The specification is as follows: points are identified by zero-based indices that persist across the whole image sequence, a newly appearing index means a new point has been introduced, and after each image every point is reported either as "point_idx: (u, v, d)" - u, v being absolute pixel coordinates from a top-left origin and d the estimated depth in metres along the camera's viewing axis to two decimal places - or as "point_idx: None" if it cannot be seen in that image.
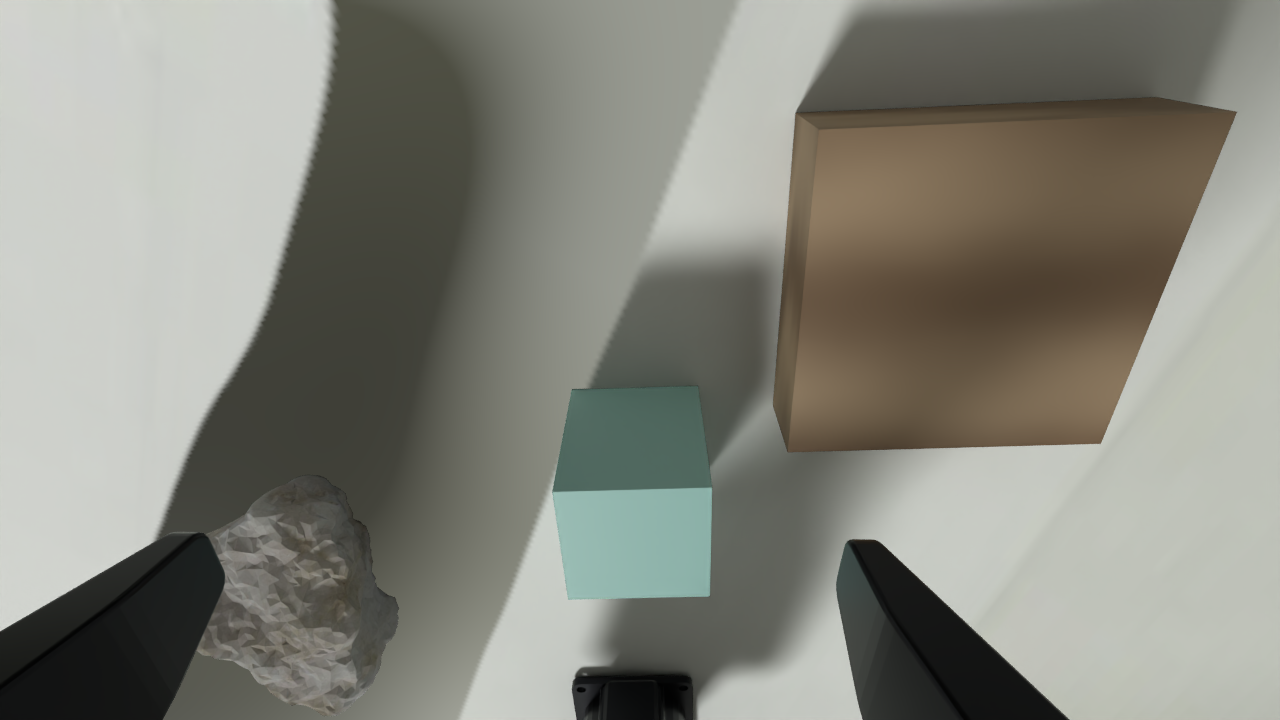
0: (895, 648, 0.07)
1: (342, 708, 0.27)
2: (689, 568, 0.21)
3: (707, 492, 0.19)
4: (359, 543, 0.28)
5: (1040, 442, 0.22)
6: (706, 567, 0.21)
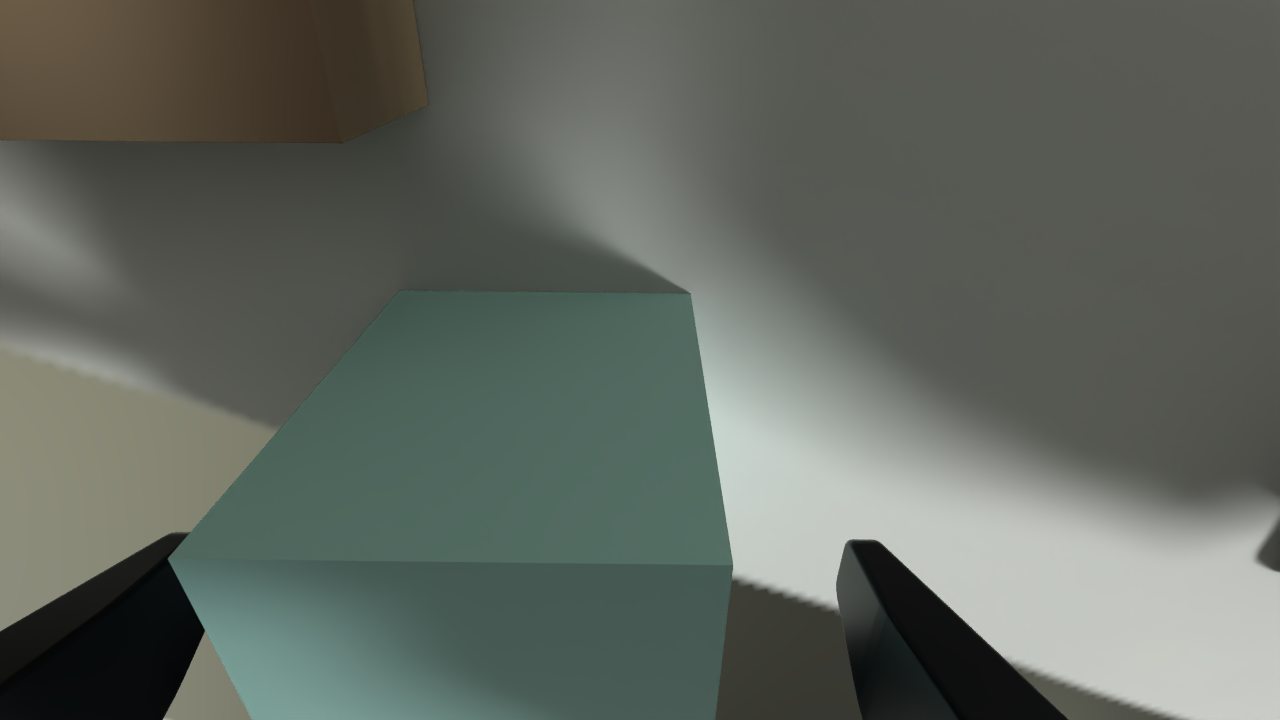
0: (895, 648, 0.07)
1: None
2: (575, 617, 0.06)
3: (196, 569, 0.06)
4: None
5: None
6: (566, 575, 0.06)
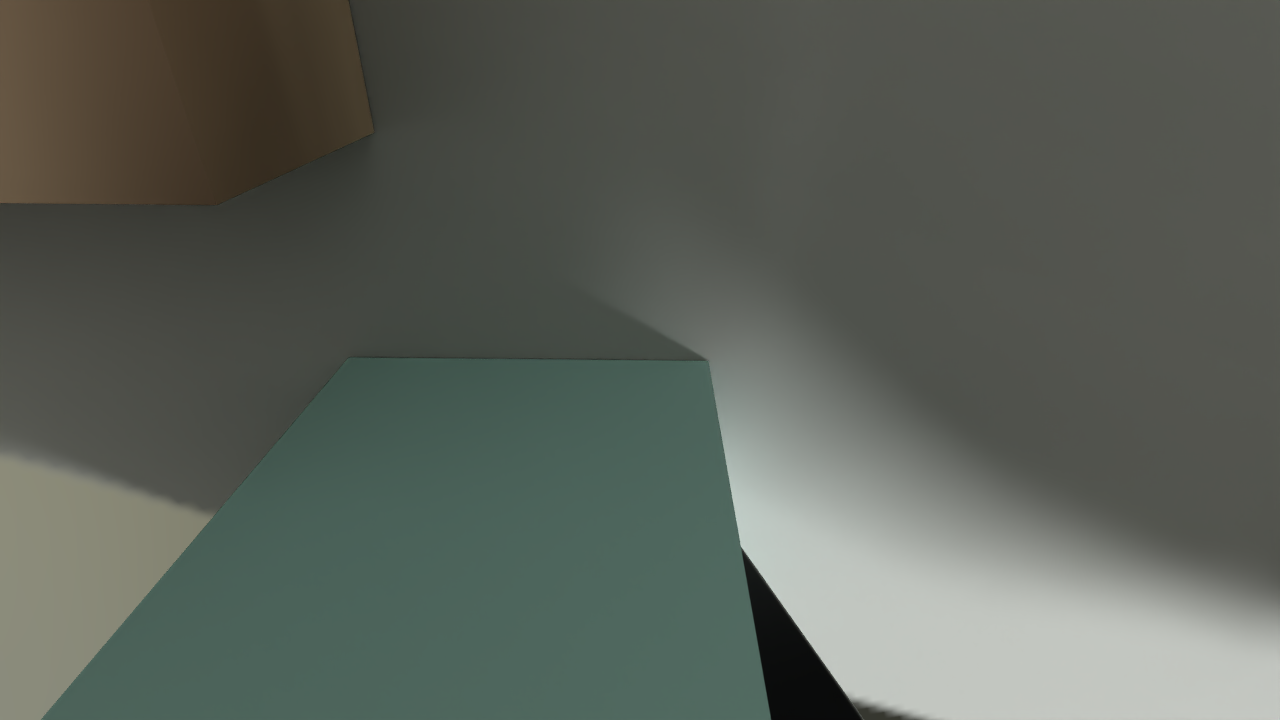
0: None
1: None
2: None
3: None
4: None
5: None
6: None
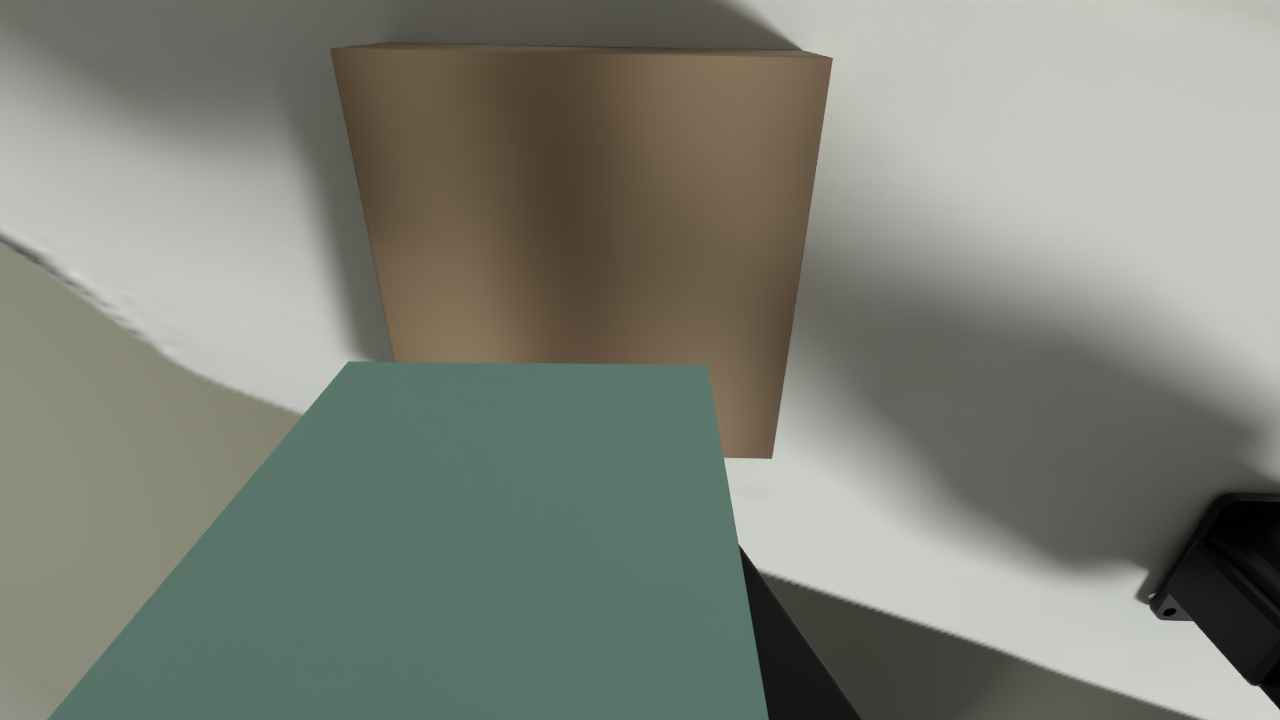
0: None
1: None
2: None
3: None
4: None
5: (816, 153, 0.15)
6: None
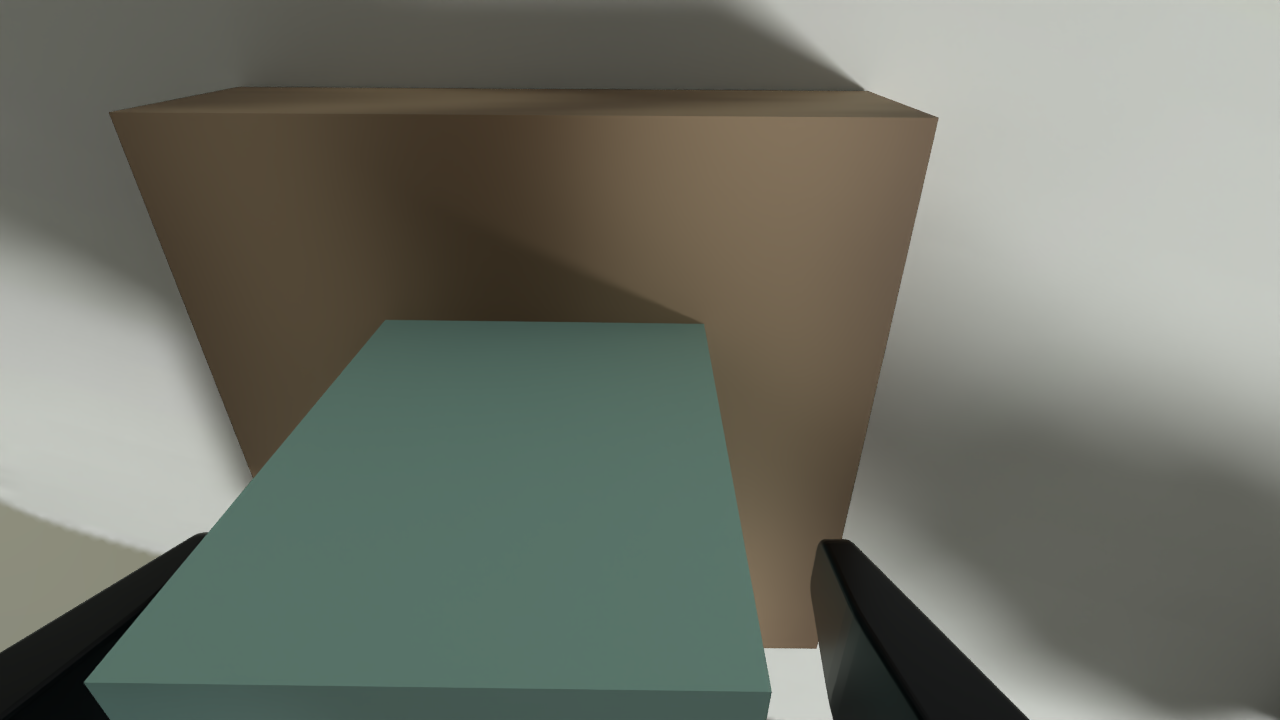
0: (861, 647, 0.07)
1: None
2: None
3: (119, 693, 0.05)
4: None
5: (901, 259, 0.09)
6: (569, 702, 0.05)
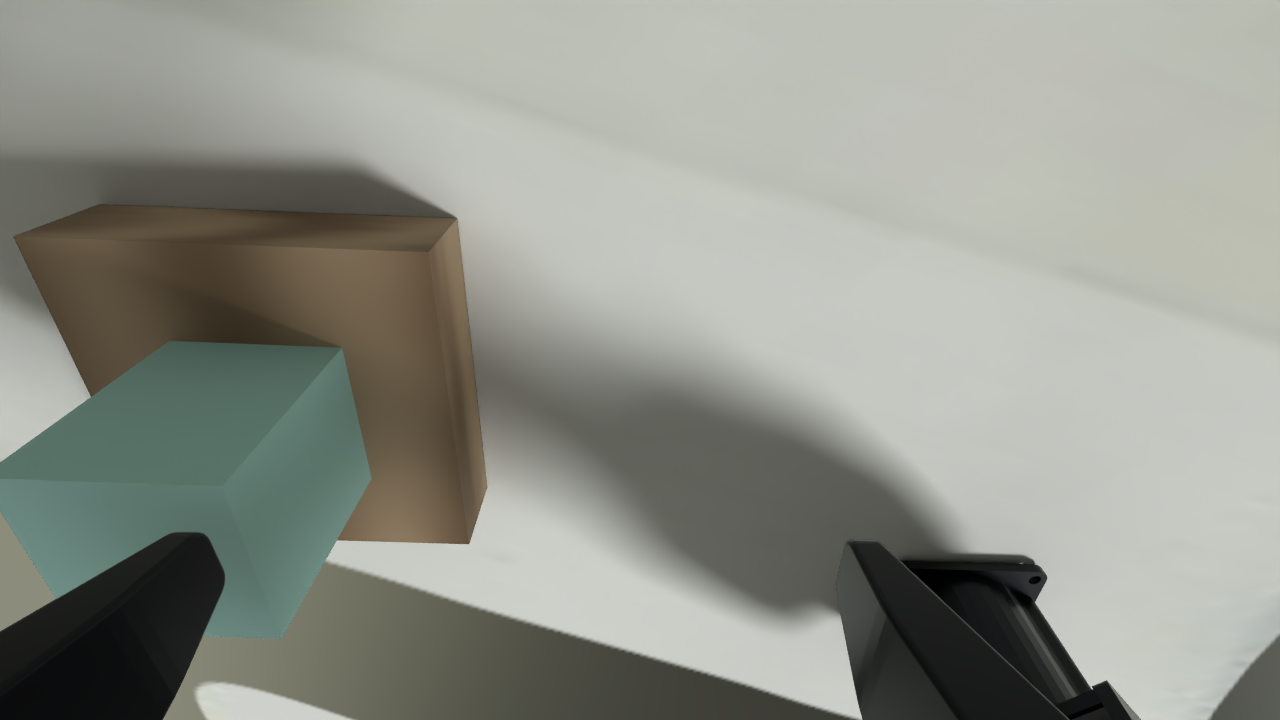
0: (895, 648, 0.07)
1: None
2: (164, 509, 0.13)
3: None
4: None
5: (439, 317, 0.18)
6: (152, 489, 0.13)
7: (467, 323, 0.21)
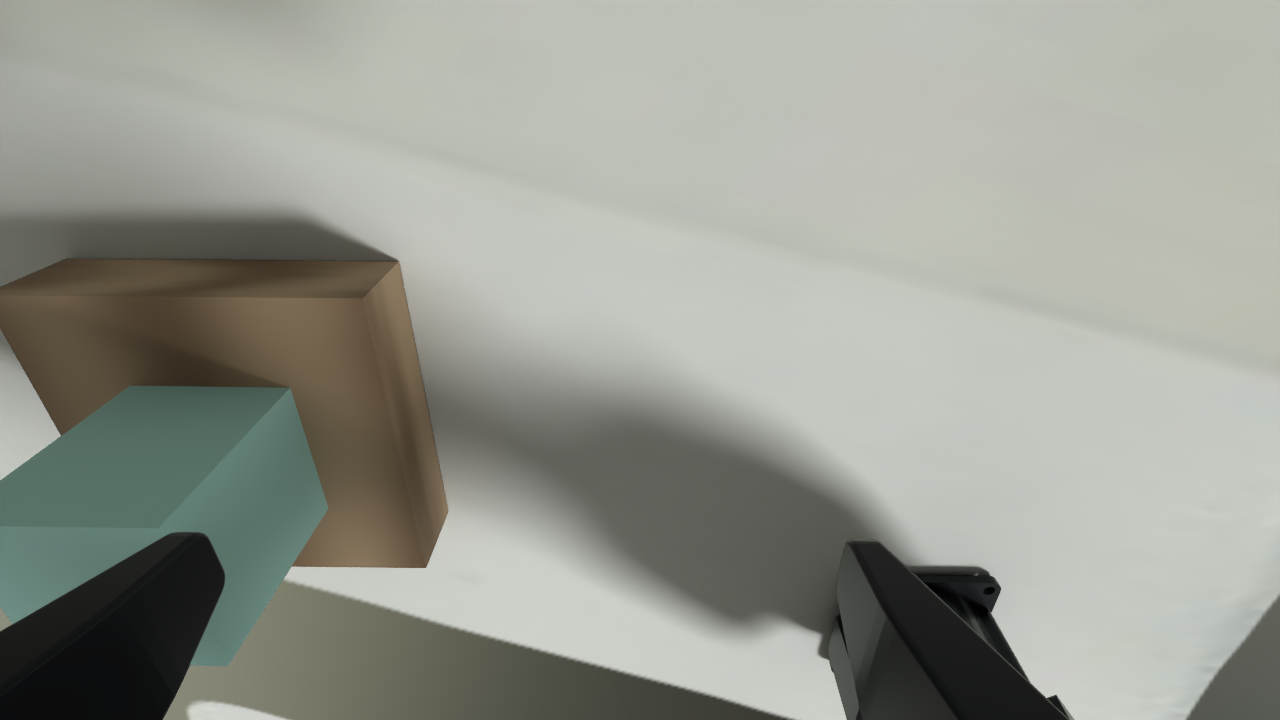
0: (895, 648, 0.07)
1: None
2: (108, 549, 0.14)
3: None
4: None
5: (379, 357, 0.19)
6: (95, 532, 0.14)
7: (416, 358, 0.22)
